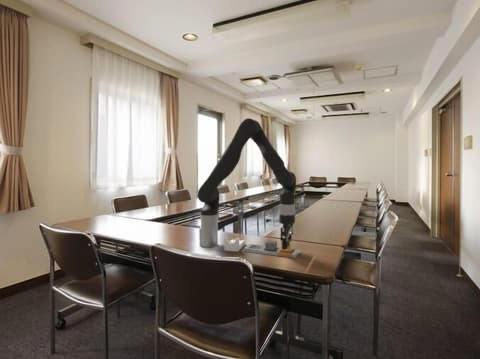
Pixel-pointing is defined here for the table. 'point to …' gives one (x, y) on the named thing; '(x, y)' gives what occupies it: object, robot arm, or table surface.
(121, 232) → the table surface
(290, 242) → the yellow gold block
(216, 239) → the robot arm
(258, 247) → the grey long flat tray
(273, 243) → the brushed steel cube
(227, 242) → the bracket
